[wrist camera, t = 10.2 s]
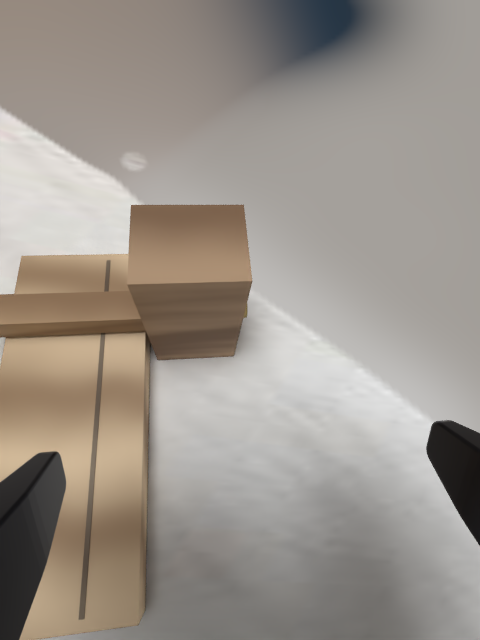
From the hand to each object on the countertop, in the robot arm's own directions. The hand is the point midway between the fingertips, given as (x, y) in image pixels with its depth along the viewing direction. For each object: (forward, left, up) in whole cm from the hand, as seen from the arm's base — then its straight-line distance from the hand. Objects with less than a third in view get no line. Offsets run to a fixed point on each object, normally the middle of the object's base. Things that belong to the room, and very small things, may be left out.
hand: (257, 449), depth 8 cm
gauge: (+9, +6, -14) cm, 17 cm away
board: (+4, +9, -14) cm, 16 cm away
